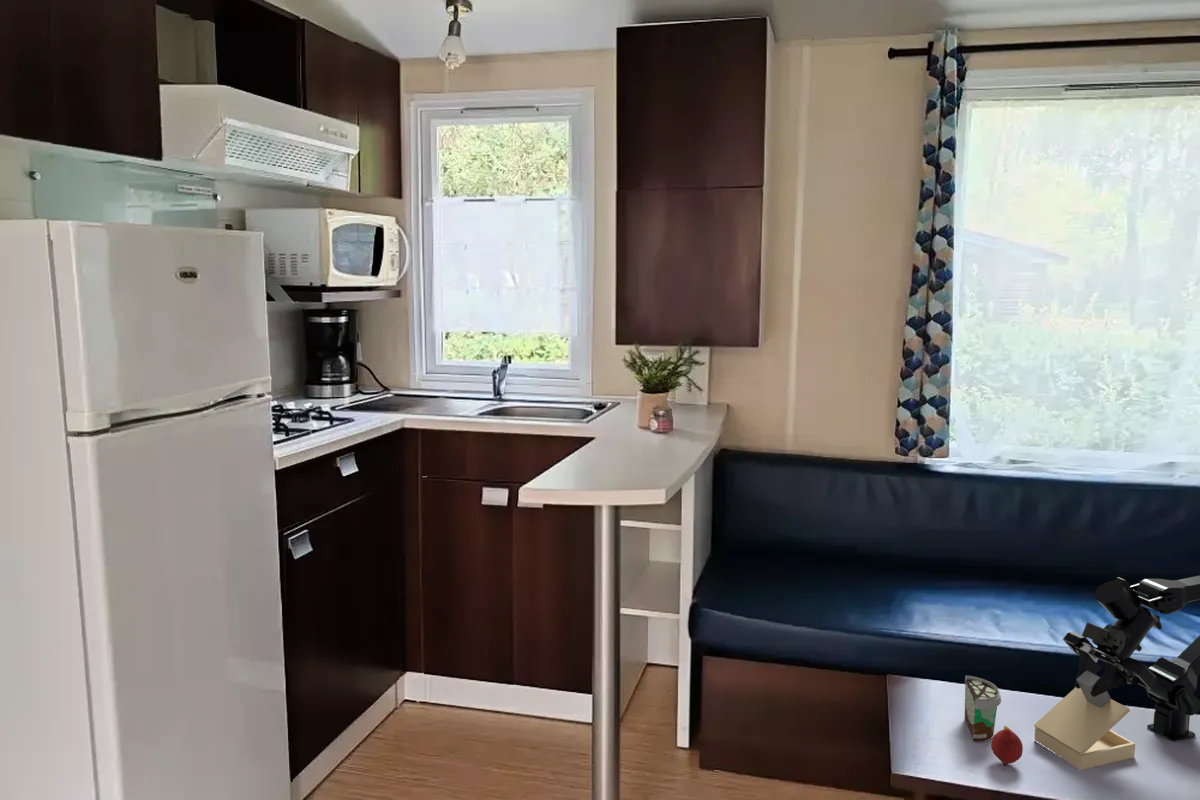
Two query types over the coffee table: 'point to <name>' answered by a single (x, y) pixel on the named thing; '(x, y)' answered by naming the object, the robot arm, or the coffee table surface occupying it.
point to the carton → (1092, 750)
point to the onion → (1007, 746)
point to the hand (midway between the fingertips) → (1083, 691)
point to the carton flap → (1082, 716)
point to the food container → (980, 707)
